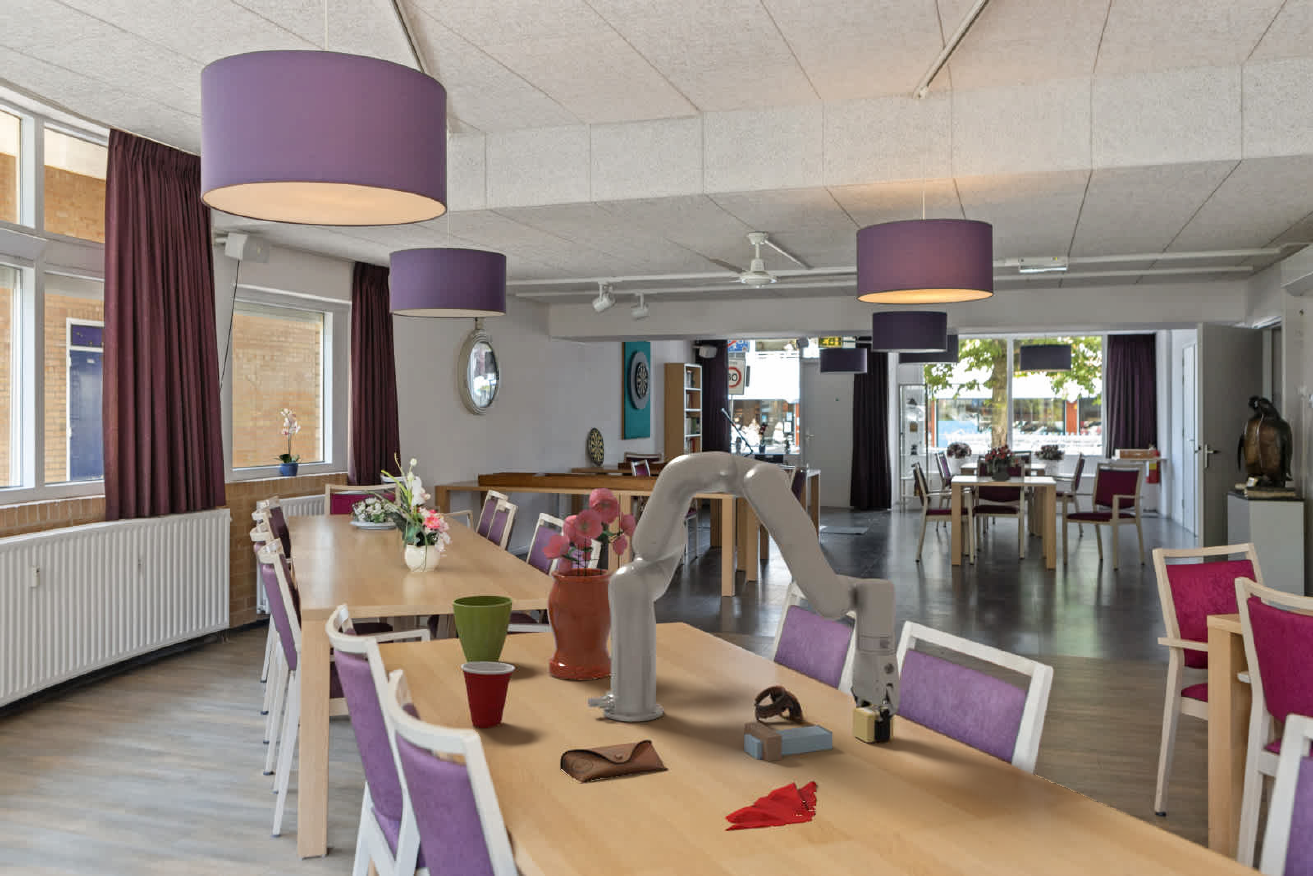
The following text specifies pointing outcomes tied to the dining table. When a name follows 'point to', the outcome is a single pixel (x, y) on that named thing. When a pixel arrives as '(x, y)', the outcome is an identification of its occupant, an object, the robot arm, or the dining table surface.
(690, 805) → the dining table surface
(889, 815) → the dining table surface
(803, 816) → the cloth
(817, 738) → the banded blue brick
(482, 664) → the plastic cup
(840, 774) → the dining table surface
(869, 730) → the stub
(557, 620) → the potted flower
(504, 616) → the flower pot
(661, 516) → the robot arm
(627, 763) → the sunglasses case
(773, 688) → the brown looped band
